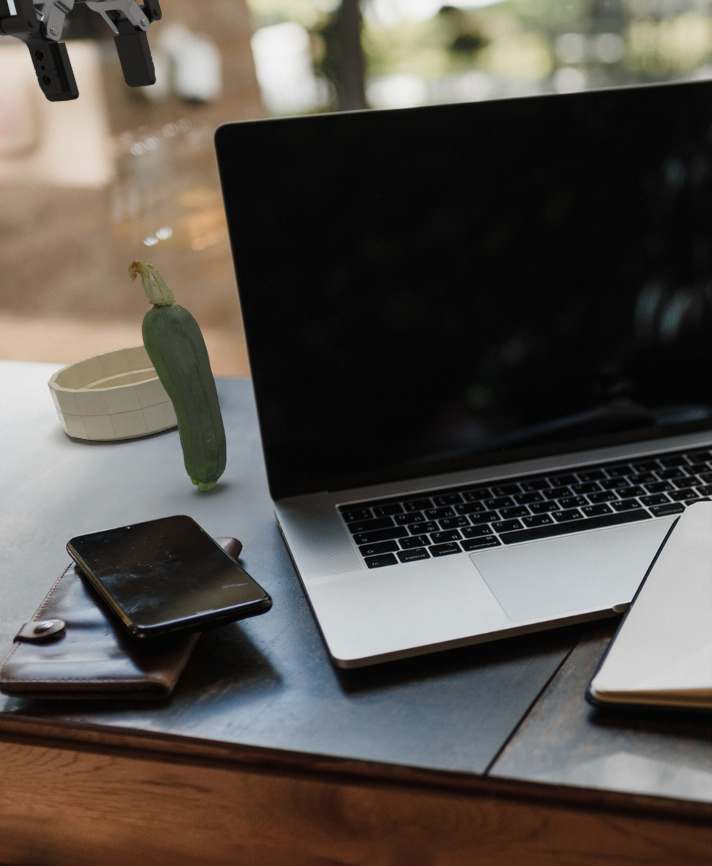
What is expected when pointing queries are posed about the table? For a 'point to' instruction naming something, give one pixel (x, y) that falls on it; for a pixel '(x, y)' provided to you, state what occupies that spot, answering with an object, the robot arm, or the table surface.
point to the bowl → (112, 396)
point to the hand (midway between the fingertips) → (104, 93)
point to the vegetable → (184, 377)
